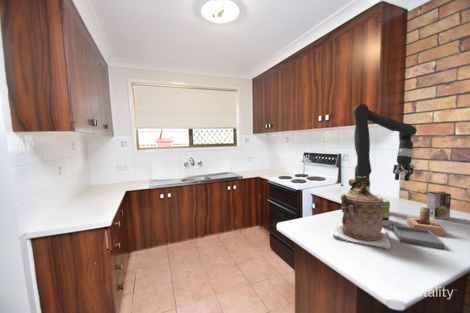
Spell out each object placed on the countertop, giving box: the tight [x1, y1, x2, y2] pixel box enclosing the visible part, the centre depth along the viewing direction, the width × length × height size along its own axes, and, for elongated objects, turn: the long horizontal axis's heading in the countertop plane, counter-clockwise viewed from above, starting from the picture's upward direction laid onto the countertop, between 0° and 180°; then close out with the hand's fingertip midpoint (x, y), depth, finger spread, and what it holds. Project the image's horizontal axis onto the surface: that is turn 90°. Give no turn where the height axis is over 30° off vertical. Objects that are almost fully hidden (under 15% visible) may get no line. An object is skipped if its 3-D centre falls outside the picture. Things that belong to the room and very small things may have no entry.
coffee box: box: [426, 191, 452, 220], centre depth 131 cm, size 9×6×16 cm
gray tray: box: [391, 224, 445, 250], centre depth 104 cm, size 16×16×2 cm
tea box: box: [376, 195, 391, 227], centre depth 126 cm, size 15×10×15 cm
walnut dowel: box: [419, 206, 431, 225], centre depth 114 cm, size 4×4×12 cm
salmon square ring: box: [406, 216, 445, 237], centre depth 114 cm, size 12×12×4 cm
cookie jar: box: [332, 176, 391, 250], centre depth 108 cm, size 25×25×32 cm
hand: (401, 180), depth 134 cm, fingers open, 8 cm apart
